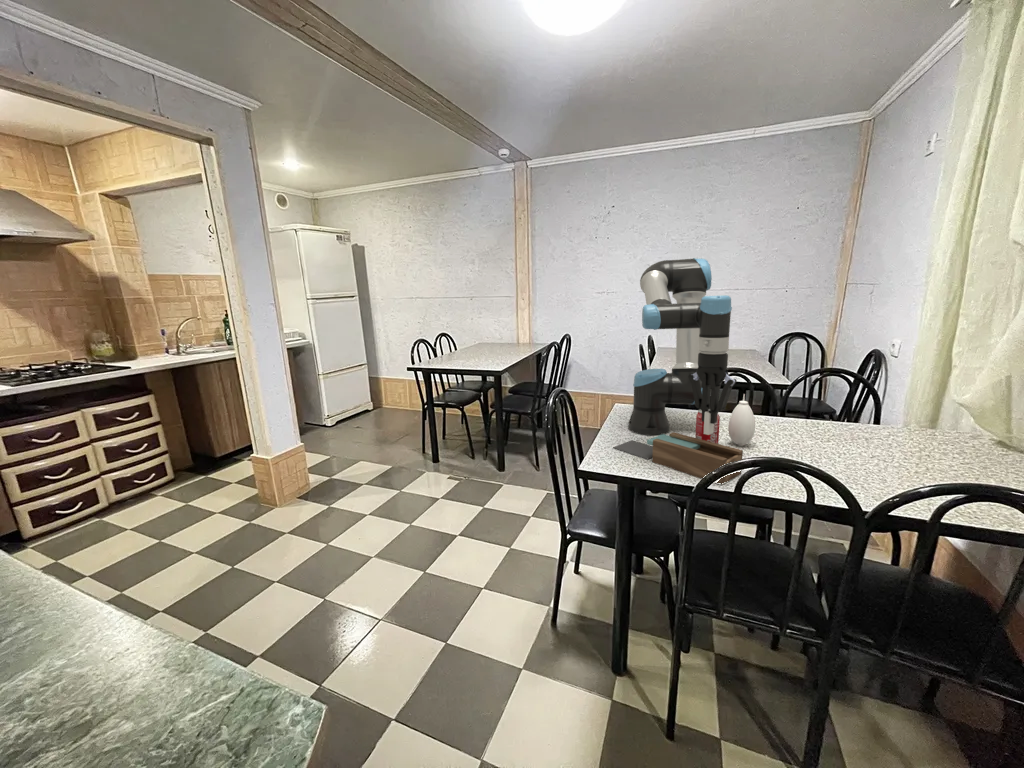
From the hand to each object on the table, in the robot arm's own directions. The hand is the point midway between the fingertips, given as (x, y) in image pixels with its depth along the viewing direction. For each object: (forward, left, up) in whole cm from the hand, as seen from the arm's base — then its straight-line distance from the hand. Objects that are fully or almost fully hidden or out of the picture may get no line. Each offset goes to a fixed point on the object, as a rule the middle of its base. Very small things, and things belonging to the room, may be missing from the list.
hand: (708, 433), depth 120 cm
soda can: (-18, -10, -12) cm, 24 cm away
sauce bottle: (-29, -4, -12) cm, 31 cm away
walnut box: (0, -4, -12) cm, 13 cm away
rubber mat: (0, -24, -12) cm, 27 cm away
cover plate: (0, -11, -7) cm, 13 cm away
